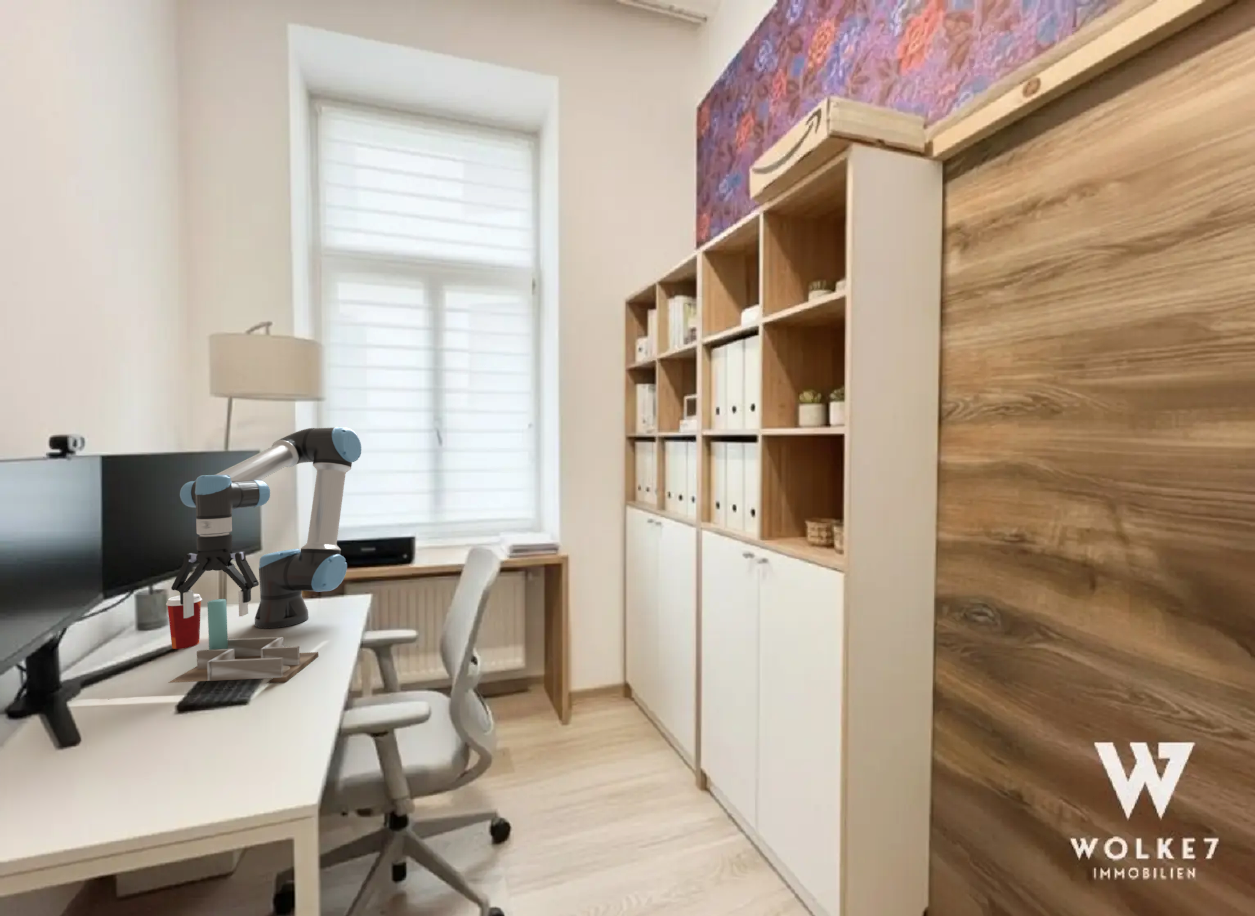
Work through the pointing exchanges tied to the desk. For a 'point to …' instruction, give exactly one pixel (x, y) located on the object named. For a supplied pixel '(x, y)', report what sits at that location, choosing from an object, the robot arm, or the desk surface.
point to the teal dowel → (217, 624)
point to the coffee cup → (184, 623)
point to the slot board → (249, 661)
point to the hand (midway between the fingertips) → (216, 616)
